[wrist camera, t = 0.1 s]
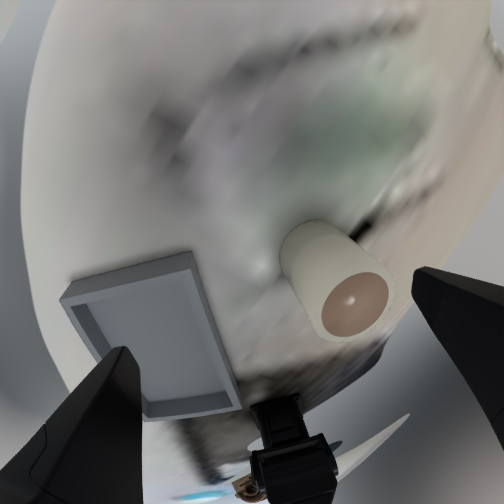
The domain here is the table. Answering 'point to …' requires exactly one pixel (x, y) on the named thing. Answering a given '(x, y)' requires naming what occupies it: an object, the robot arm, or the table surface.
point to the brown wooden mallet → (247, 490)
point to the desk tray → (158, 335)
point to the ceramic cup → (336, 281)
